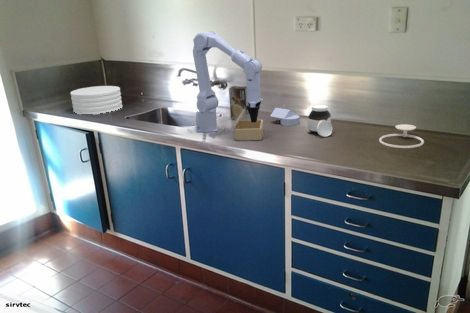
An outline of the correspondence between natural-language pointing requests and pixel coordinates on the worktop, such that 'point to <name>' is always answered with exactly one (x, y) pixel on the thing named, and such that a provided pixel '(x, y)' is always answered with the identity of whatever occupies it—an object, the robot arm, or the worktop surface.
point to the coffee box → (238, 102)
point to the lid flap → (238, 118)
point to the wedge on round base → (286, 117)
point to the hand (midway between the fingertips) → (254, 120)
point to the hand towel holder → (405, 128)
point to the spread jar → (320, 121)
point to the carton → (249, 130)
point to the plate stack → (96, 99)
